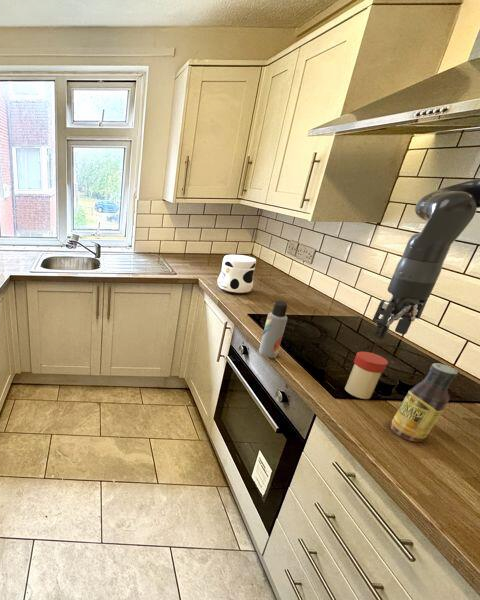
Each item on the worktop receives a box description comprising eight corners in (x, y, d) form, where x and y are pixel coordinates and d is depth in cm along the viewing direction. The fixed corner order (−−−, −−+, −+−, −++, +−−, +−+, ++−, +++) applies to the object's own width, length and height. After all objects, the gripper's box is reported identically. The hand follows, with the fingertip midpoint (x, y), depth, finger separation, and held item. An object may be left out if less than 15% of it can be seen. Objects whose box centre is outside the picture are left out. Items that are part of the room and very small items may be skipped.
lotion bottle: (279, 355, 111) (294, 302, 103) (271, 360, 108) (286, 306, 100) (263, 348, 115) (276, 297, 107) (255, 352, 112) (268, 301, 105)
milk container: (209, 286, 176) (214, 255, 169) (234, 283, 181) (240, 253, 174) (232, 297, 161) (239, 263, 154) (258, 294, 166) (266, 261, 159)
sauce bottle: (382, 424, 81) (414, 358, 73) (407, 424, 81) (441, 358, 73) (405, 444, 75) (443, 375, 67) (432, 445, 74) (473, 375, 67)
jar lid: (371, 359, 92) (374, 351, 91) (391, 373, 86) (395, 364, 85) (347, 359, 92) (350, 351, 91) (365, 372, 86) (369, 364, 85)
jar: (360, 386, 95) (373, 354, 91) (376, 399, 89) (391, 366, 85) (339, 385, 95) (352, 353, 91) (354, 398, 90) (368, 365, 85)
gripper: (414, 284, 71) (387, 346, 78) (453, 278, 76) (424, 338, 82) (377, 274, 78) (355, 332, 84) (414, 270, 82) (390, 325, 88)
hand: (389, 335), depth 83 cm, fingers open, 8 cm apart
